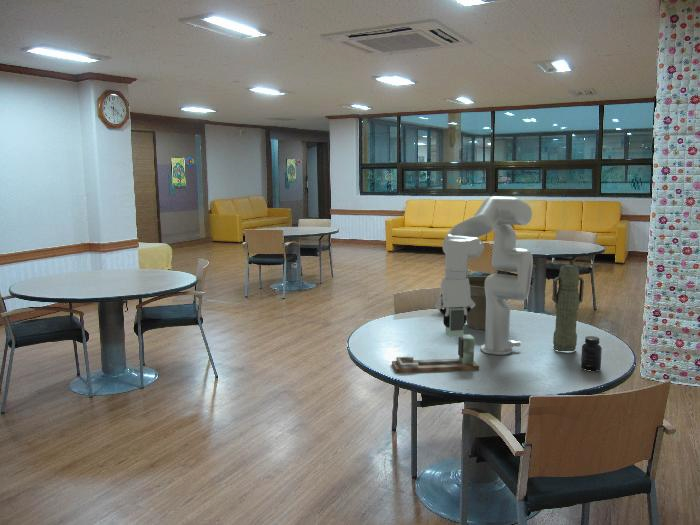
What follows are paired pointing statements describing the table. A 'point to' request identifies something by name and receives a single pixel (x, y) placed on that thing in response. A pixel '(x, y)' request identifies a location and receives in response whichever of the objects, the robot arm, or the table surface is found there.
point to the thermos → (567, 307)
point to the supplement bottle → (591, 354)
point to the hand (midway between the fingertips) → (454, 325)
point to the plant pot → (477, 303)
